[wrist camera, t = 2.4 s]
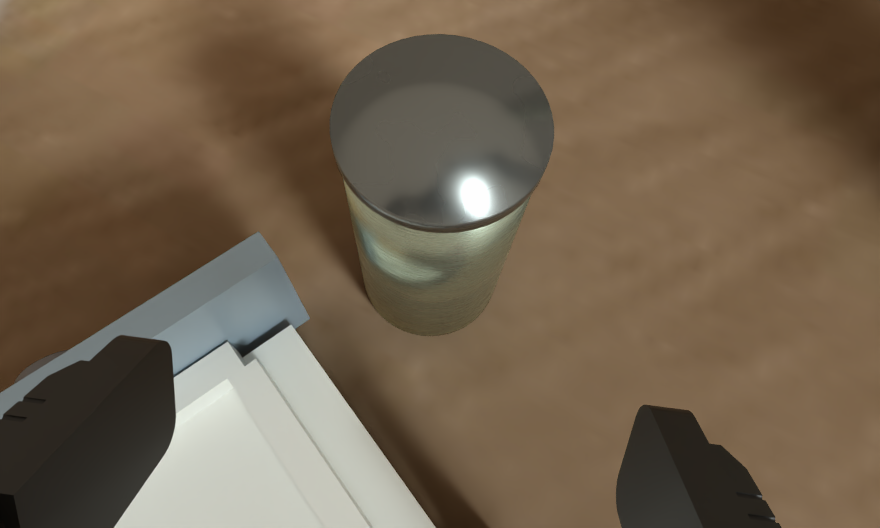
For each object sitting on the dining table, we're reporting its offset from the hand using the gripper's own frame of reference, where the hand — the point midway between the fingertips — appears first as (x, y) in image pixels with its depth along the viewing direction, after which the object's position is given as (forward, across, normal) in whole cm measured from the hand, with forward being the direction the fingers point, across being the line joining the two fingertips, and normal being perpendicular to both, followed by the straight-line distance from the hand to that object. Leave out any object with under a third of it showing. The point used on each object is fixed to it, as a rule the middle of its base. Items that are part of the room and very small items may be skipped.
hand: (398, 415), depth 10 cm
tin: (+13, 0, +3) cm, 14 cm away
